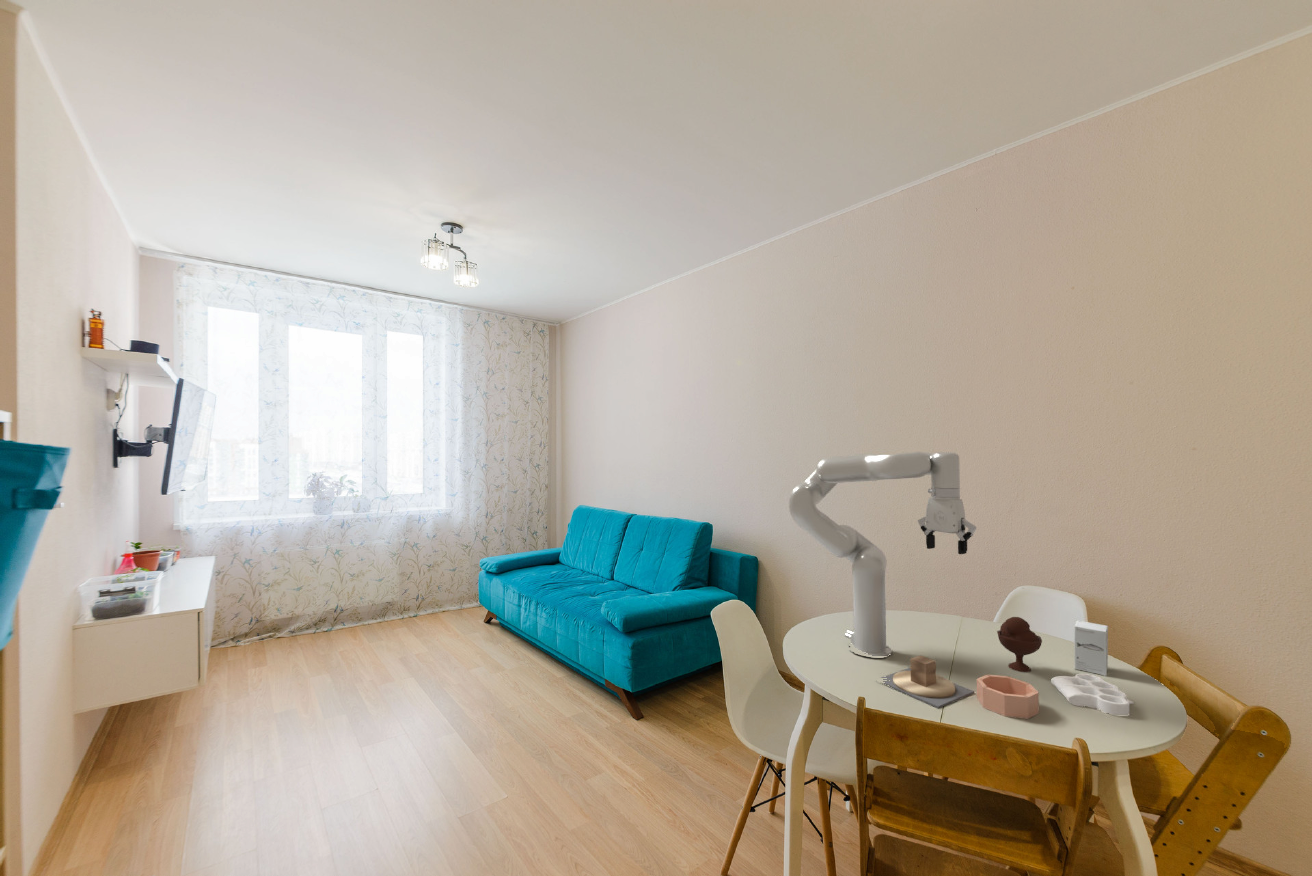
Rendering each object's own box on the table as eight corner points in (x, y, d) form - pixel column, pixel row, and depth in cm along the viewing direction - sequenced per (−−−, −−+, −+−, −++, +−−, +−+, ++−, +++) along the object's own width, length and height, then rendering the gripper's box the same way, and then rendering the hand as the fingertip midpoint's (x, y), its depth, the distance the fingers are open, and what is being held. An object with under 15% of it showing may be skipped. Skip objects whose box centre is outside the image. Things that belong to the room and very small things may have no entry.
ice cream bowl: (1050, 677, 151) (1049, 623, 151) (1006, 674, 153) (1005, 621, 153) (1032, 662, 161) (1031, 611, 161) (990, 659, 163) (990, 609, 163)
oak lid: (881, 680, 148) (880, 656, 148) (915, 669, 155) (914, 645, 156) (932, 703, 135) (932, 676, 135) (967, 689, 143) (966, 663, 143)
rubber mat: (875, 681, 149) (875, 679, 149) (911, 668, 157) (911, 667, 157) (938, 708, 133) (938, 706, 133) (974, 693, 141) (974, 691, 142)
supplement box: (1073, 669, 156) (1073, 625, 156) (1076, 661, 161) (1075, 619, 162) (1107, 676, 151) (1106, 631, 151) (1108, 668, 156) (1108, 624, 156)
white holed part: (1046, 681, 149) (1111, 688, 144) (1074, 712, 132) (1148, 721, 127) (1046, 669, 149) (1110, 676, 144) (1074, 698, 132) (1148, 707, 127)
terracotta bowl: (969, 701, 137) (968, 681, 137) (994, 690, 143) (994, 671, 143) (1020, 722, 126) (1020, 701, 126) (1046, 709, 132) (1045, 689, 133)
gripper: (911, 492, 167) (911, 547, 167) (967, 496, 152) (968, 557, 152) (925, 491, 171) (926, 545, 171) (982, 495, 156) (982, 554, 156)
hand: (946, 550), depth 161 cm, fingers open, 9 cm apart
